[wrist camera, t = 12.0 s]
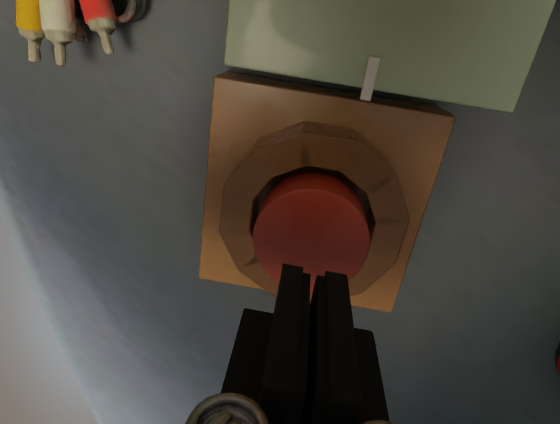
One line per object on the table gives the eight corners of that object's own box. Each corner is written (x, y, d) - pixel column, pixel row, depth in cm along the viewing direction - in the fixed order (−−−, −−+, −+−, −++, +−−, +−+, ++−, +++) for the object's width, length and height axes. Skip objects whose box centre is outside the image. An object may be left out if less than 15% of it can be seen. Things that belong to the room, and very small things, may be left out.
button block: (226, 70, 17) (200, 81, 13) (440, 106, 17) (474, 127, 13) (210, 254, 20) (186, 302, 17) (384, 285, 20) (398, 340, 17)
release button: (266, 163, 14) (260, 179, 13) (376, 182, 14) (383, 200, 13) (253, 257, 16) (246, 282, 14) (351, 275, 16) (355, 301, 14)
